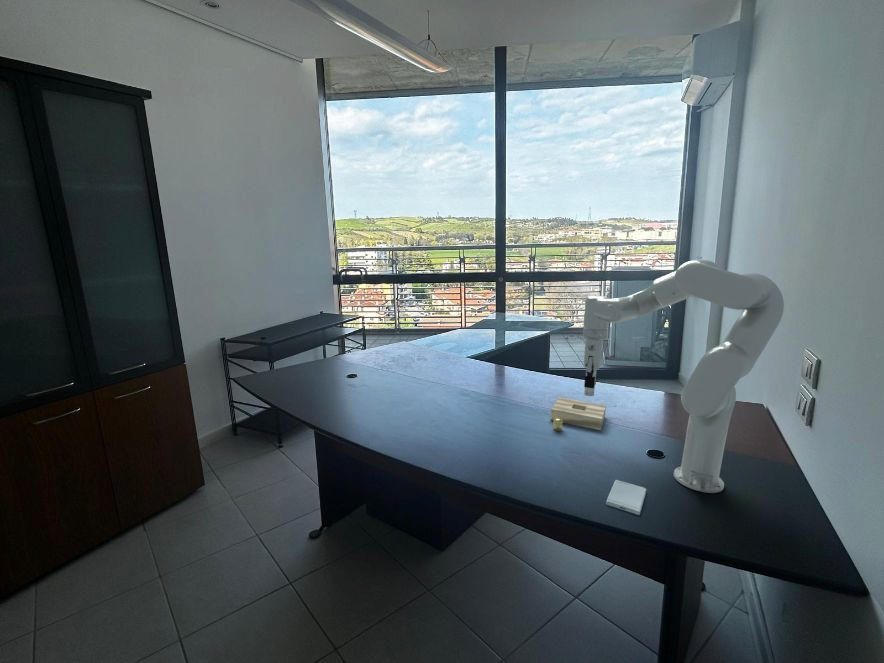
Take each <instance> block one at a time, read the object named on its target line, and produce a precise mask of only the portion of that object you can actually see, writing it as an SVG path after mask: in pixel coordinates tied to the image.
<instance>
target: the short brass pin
mask: <svg viewBox="0 0 884 663" xmlns="http://www.w3.org/2000/svg"><path fill="white" fill-rule="evenodd" d="M552 423H553V426H552V430H553V431H554V432H563V426H564V425H563V424H564V423H563V419H562V418H558V417H556V418H554V421H553V422H552Z"/></svg>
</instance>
